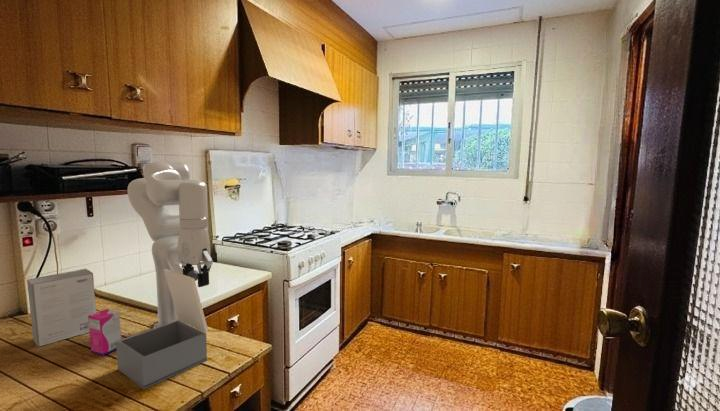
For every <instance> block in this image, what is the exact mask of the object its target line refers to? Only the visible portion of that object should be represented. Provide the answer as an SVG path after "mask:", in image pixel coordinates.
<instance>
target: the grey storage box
mask: <svg viewBox="0 0 720 411" xmlns="http://www.w3.org/2000/svg"><path fill="white" fill-rule="evenodd" d="M116 347H117V350H116V360H117V370H118V371H120V372H121V373H122V374H123V375H125V376H126V377H127V378H128V379H130V380H131V381H132V382H133V383H135V385H137V386H139V387H140V388H142V390H146V389H147V388H150V387H153V386H155V385H156V384H159V383H161V382H163V381H166V380H168V379H170V378H172V377H174V376H177V375H178V374H180V373H183V372H185V371H188V370H189V369H191V368H194V367H196V366H198V365H200V364H202V363H204V362H206V361H208V353H207V352H208V350H207V347H208V346H207V333H204V332H202V331H200V330H198V329H196V328H194V327H191V326H189V325H187V324H185V323H183V322H181V321H179V320H178V321H175V322H172V323H169V324H166V325H163V326H160V327H157V328H154V329H153V328H151V329H148V330H146V331H142V332H140V333H137V334H134V335H131V336H128V337H127V336H126V337H124V338H121V340H118V341H116Z"/></svg>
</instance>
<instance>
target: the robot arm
mask: <svg viewBox="0 0 720 411" xmlns="http://www.w3.org/2000/svg"><path fill="white" fill-rule="evenodd" d="M142 175H143V177H142V178H141V177H140V178H136V179H133V180H131V182H129V183H128V186H127V196H128V199H129V202H130V205H131V207H132V208H133V209H134V211H135V212H136V213H137V214H138V215H139V217H140V219H141V220H142V221H143V224H144V226H145V228H146V231H147V234H148V235H149V238H151V240H152V241H153V243H152V245H151V254H152V258H153V264H154V268H155V281H156V295H157V296H156V298H157V300H156V301H157V314H156V317H157V320H158V322H156V323H155V324H154V325H153V328H152V329H154V328H157V327H160V326H163V325H166V324H169V323H172V322H175V321H178V317H177V313H176V310H175V307H174V303H173V300H172V296H171V293H170V290H169V286H168V283H167V279H166V276H165V273H164V270H165V269H168V270H171V271H174V272H177V273H180V274H183V275H186V276H188V273H189V272H190V271H192V270H195V266H196V267H197V271H198V272H199V273H198V280H197V288H203V287H206V286H209V284H210V272H211V268H212V265H213V263H214V260H213V259H212V257H211V243H210V236H209V231H208V229H209V216H208V214H209V213H208V212H209V210H208V188H207V187H208V186H207V184H206V183H205V182H204V181H199V180H195V179H190V178H191V172H190V169H189V167H188V166H187V164H185V163H184V162H181V161H153V162H148V163H147V164H146V165H145V166H144V168H143V170H142ZM166 206H178V214H179V215H178V214H177V215H173V214H170V213H169V211H168V209H167V207H166ZM180 265H181V266H180ZM179 321H180V320H179ZM181 322H182V321H181ZM183 323H184V322H183ZM185 324H186V323H185ZM187 325H188V324H187ZM189 326H190V325H189ZM191 327H192V326H191Z"/></svg>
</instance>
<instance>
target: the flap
mask: <svg viewBox="0 0 720 411" xmlns="http://www.w3.org/2000/svg"><path fill="white" fill-rule="evenodd" d="M164 273H165V276H166V279H167V283H168V286H169V290H170V293H171V296H172V300H173V303H174V307H175V310H176V313H177V317H178V320H180V321H182V322H184V323H186V324H188V325H190V326H192V327H193V328H196V329H198V330H200V331H202V332H204V333H206V334H208V333H209V328H208V325H207V324H208V323H207V321H206V316H205V314H204V313H205V312H204V310H203V306H202V303H201V299H200V298H201V297H200V294H199V292H198V286H197V283H196V281H198V273H199V271H198V270H196V269H194V270H192V271H190V272H189V273H188V276H186V275H183V274H180V273H177V272H174V271H171V270H168V269H165V270H164Z"/></svg>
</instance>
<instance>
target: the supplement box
mask: <svg viewBox="0 0 720 411" xmlns="http://www.w3.org/2000/svg"><path fill="white" fill-rule="evenodd" d="M120 318H121V317H120V311H119V310H114V309H110V308H106V309H103V310H100V311H96V313H94V314H91V315H88V322H89V332H88V333H89V342H90V352H91V353H94V354H97V355H100V356H102V357H103V356H106V355H108V354H110V353H112V352H115V351H117V347H116V341H118V340H121V339H122V329H121V319H120Z"/></svg>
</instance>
